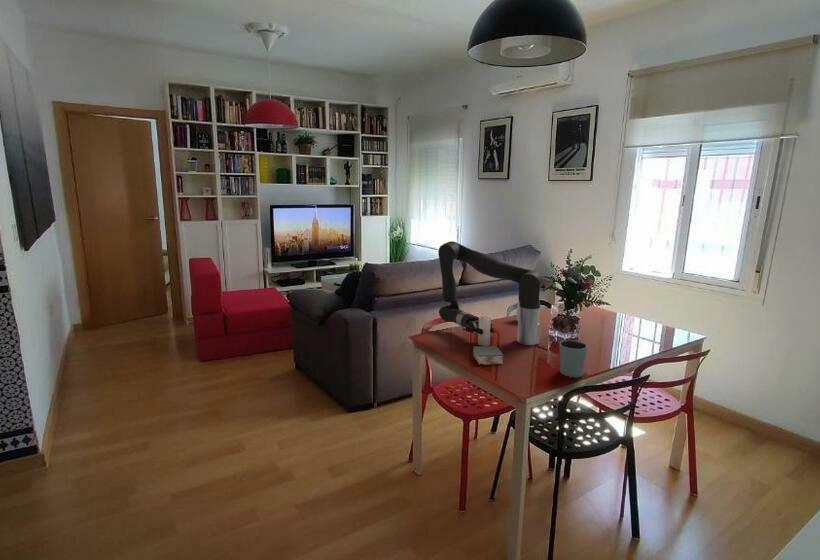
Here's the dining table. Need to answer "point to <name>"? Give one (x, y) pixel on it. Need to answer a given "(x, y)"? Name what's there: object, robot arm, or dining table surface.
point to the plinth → (488, 355)
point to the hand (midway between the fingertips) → (487, 331)
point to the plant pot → (572, 358)
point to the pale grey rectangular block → (484, 331)
